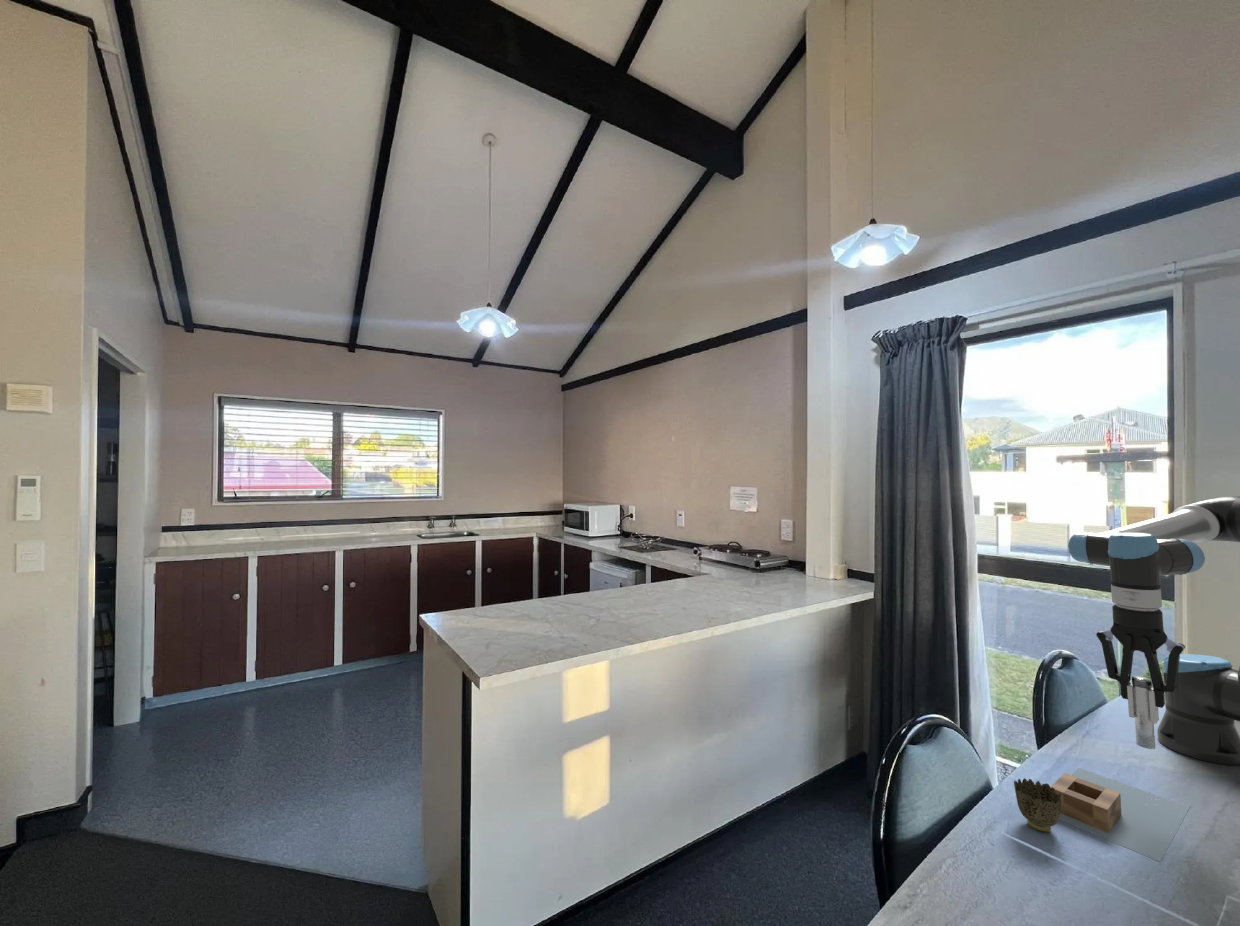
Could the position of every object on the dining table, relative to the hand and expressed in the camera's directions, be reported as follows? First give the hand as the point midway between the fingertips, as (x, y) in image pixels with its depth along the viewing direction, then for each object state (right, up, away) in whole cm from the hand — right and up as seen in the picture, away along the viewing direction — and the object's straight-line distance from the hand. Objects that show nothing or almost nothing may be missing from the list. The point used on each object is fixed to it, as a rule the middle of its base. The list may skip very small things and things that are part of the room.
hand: (1143, 717), depth 108 cm
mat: (-7, -19, -1) cm, 20 cm away
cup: (-27, -20, -5) cm, 34 cm away
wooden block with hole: (-14, -19, -1) cm, 23 cm away
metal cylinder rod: (0, -6, 0) cm, 6 cm away
